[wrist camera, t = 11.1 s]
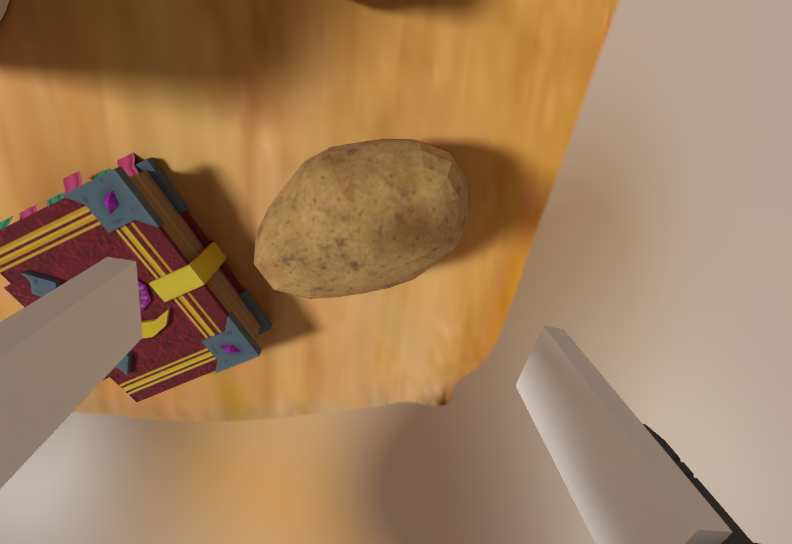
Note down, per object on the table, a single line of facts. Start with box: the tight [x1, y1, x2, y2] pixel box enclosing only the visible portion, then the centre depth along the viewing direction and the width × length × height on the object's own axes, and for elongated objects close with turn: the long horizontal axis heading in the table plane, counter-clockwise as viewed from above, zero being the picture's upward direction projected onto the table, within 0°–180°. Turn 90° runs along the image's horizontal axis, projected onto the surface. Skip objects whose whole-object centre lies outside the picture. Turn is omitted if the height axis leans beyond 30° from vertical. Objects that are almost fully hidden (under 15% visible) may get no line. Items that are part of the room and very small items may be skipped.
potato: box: [254, 139, 470, 299], centre depth 23 cm, size 10×14×8 cm
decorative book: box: [0, 153, 272, 402], centre depth 26 cm, size 11×16×5 cm
